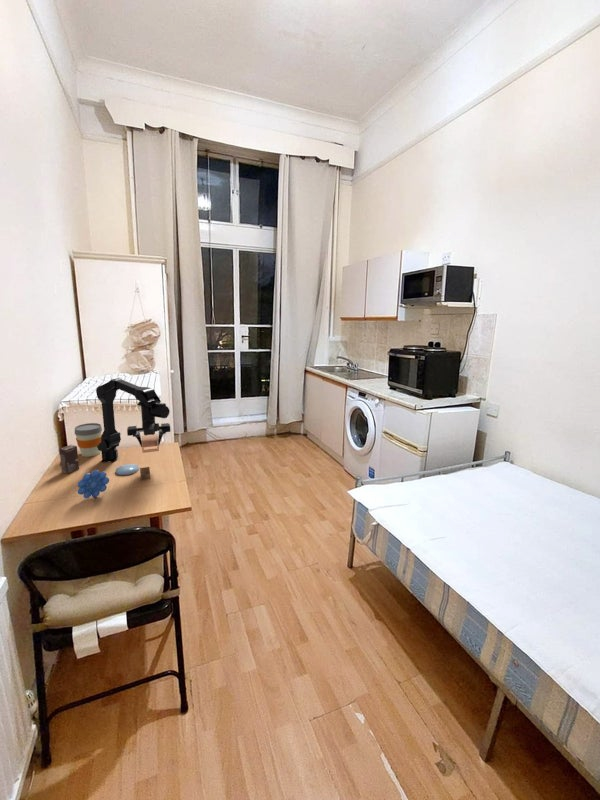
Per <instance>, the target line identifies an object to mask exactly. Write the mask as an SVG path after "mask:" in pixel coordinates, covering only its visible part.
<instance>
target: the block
mask: <svg viewBox="0 0 600 800" xmlns="http://www.w3.org/2000/svg"><path fill="white" fill-rule="evenodd" d="M150 468H151V467H150V466H146V467H140V468H139V472H140V481H141V482H142V481H146V480H151V471H150Z"/></svg>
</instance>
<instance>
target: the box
mask: <svg viewBox="0 0 600 800" xmlns="http://www.w3.org/2000/svg"><path fill="white" fill-rule="evenodd" d="M58 450H59V456H60V465H61V472H62V473H63V474H64V473H65V474H70V473H72V472H73V473H74V471H77V470H79V469H80V464H79V463H80V462H79V454H78V445H74V444H69V445H67V446H62V447H60V448H59V449H58Z"/></svg>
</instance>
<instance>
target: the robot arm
mask: <svg viewBox="0 0 600 800" xmlns="http://www.w3.org/2000/svg"><path fill="white" fill-rule="evenodd" d="M119 390H120V391H123V392H124V393H127V394H129V395H131V396H134V398H135V399H136V400H137V401H138V402H137V404H136V406H139V407H140V410H141V411H140V413H141V426H142V427H137V425H134V426H133V425H132V426H131V425H130V426H128V427H127V429H126V434H127V435H126V436H128V437H129V436H130V437H131V436H132V437H133V438H136V440H137V441H138V443H139V446H140V447H141V448H142V435H141V433H142V432H143V435H154V434H156V432H158V444H159V446H160V444H161V442H162V438H163V436H164V435H166V434H167V433H170V432H171V425H170V423H169V422H166V423H165V422H164V423H158V422H156V418H160V419H166V418H168V417H169V415H170V408H169V406H167V403H164V402H162V400H161V399H160V397H159V395H158V394H157V393H156V391H155V389H154V388H152V387H147V386H138V385H137V384H134V383H131V382H128V381H126V380H125V379H122V378H121V377H119V378H118V377H117V378H113V379H110V380H109V381H108V382H106V383H103V384H102V385H98V386H97V387H96V389H95V393H96V396H97V399H98V400H99V401H100V403H101V411H102V420H103V432H102V433H101V434H102V436H101V442H100V443H99V445H98V446H97V448H98V450H99V451H101V453H100V454H101V459H102V460H101V461H100V462H101V463H109V462H110V463H111V462H116V461H117V460H118V457H119V450H118V449H117V447H119V446H120V443H121V440H122V438H121V432H118V431H117V429H116V424H115V423H116V421H115V411H114V409H115V408H114V401H115V399H116V397H117V391H119Z"/></svg>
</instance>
